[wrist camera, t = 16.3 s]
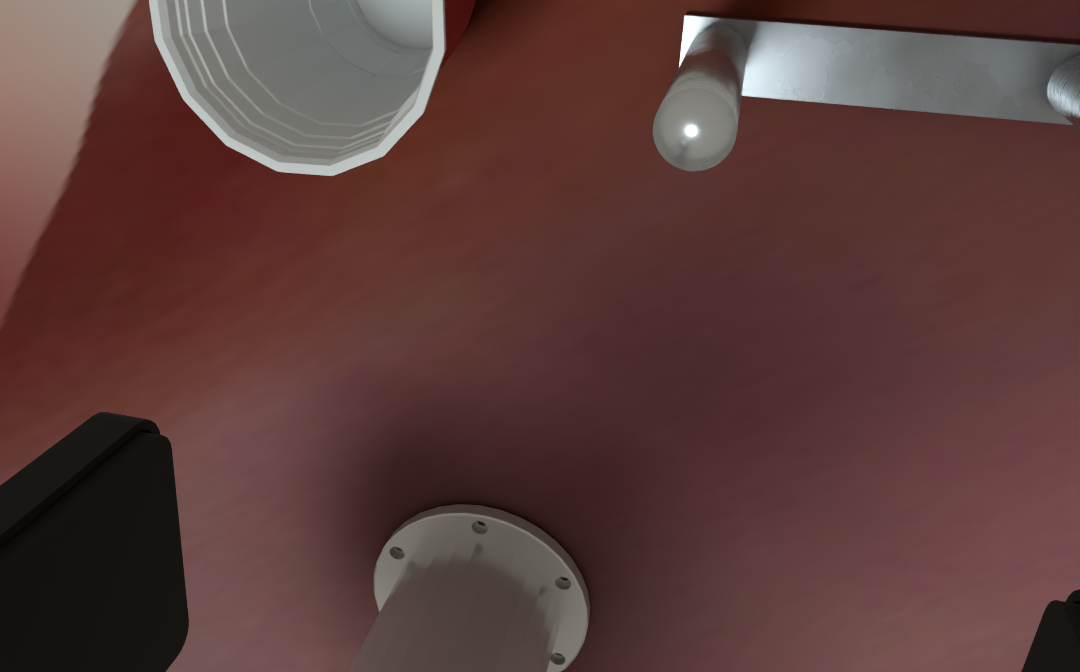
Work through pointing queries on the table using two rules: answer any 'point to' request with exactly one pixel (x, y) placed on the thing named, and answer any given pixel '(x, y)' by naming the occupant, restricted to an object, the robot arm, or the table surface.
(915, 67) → the gate
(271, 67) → the plastic cup
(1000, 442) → the table surface
